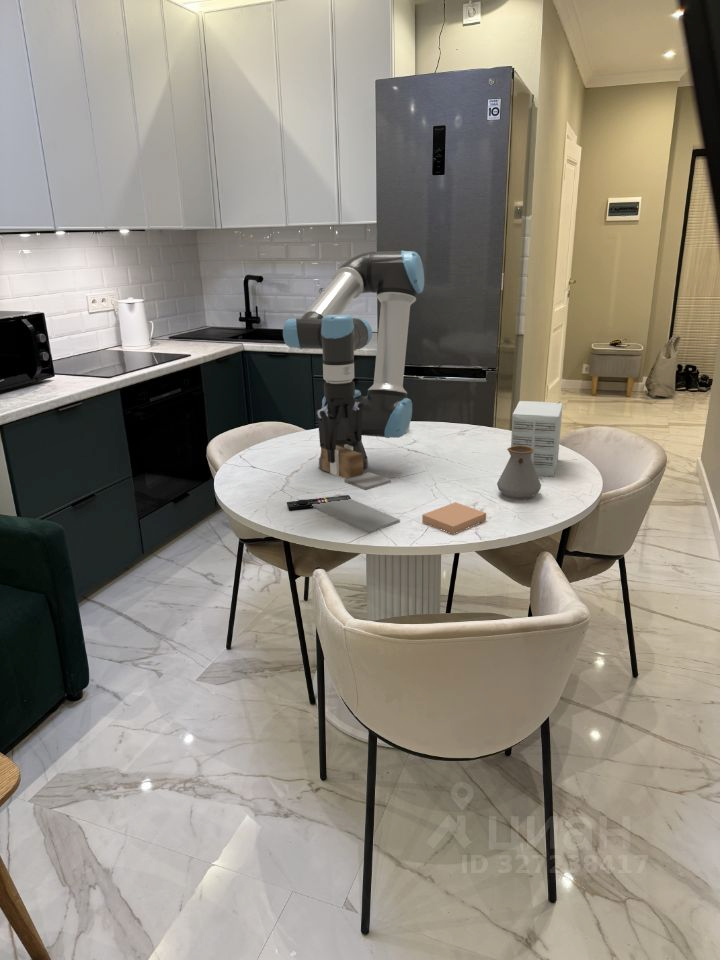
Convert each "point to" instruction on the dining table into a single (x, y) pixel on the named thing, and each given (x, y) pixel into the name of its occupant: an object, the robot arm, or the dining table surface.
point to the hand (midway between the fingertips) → (342, 471)
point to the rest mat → (357, 514)
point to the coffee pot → (519, 475)
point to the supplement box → (538, 433)
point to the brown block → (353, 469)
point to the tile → (453, 517)
